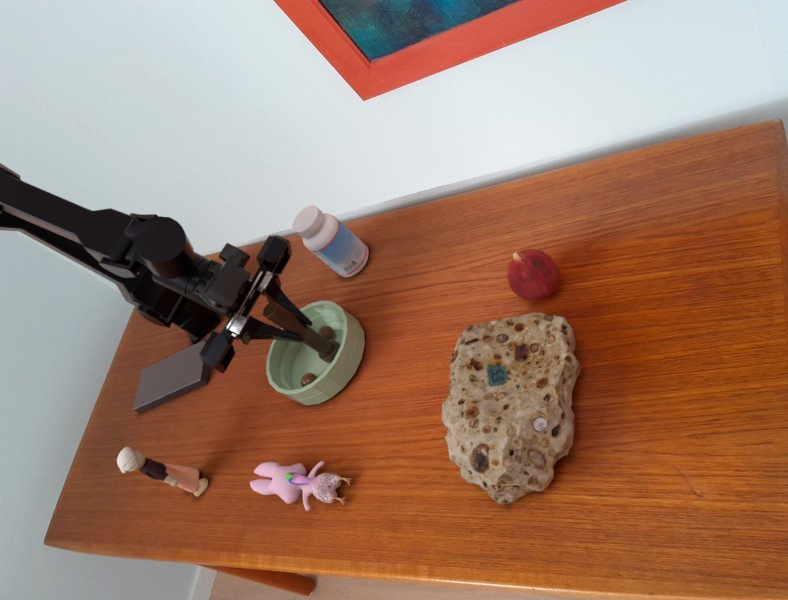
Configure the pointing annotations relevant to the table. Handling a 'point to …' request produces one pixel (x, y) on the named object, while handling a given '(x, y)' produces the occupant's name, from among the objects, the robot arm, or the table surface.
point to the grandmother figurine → (162, 471)
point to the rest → (171, 378)
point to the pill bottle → (331, 241)
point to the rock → (511, 403)
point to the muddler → (302, 331)
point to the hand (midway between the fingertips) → (307, 332)
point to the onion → (532, 274)
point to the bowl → (317, 357)
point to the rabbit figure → (297, 483)
